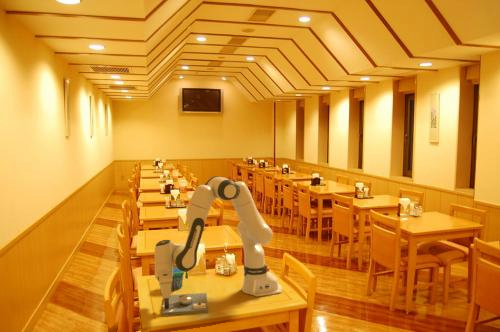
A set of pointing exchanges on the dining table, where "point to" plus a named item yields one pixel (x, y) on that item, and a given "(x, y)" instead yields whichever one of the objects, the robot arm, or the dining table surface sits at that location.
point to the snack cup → (177, 278)
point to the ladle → (182, 299)
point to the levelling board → (196, 307)
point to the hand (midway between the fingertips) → (164, 299)
